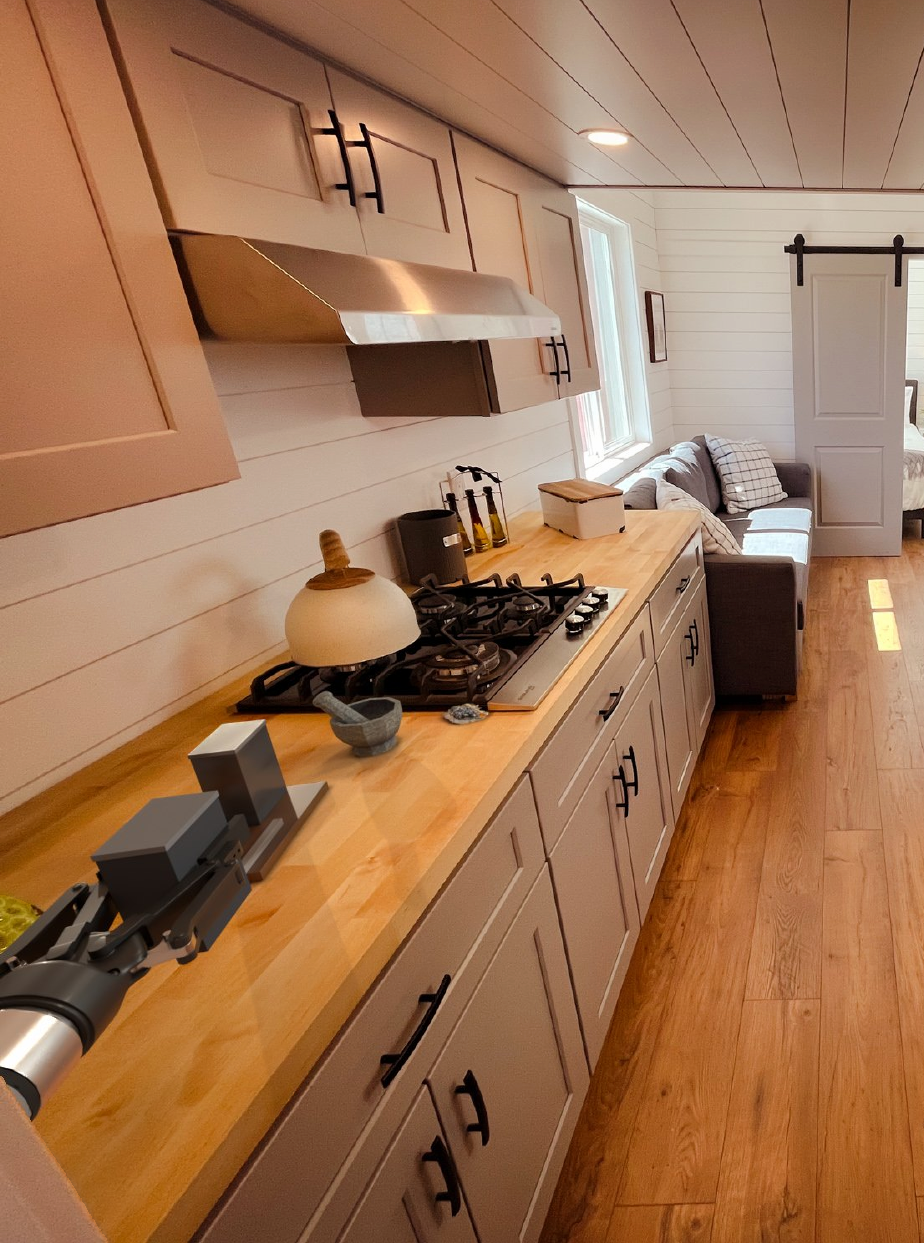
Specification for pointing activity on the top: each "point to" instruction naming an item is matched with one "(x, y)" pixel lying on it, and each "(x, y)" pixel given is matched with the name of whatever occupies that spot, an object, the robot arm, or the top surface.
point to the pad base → (254, 791)
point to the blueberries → (464, 714)
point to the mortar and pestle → (363, 722)
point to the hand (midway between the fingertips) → (209, 830)
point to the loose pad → (164, 854)
